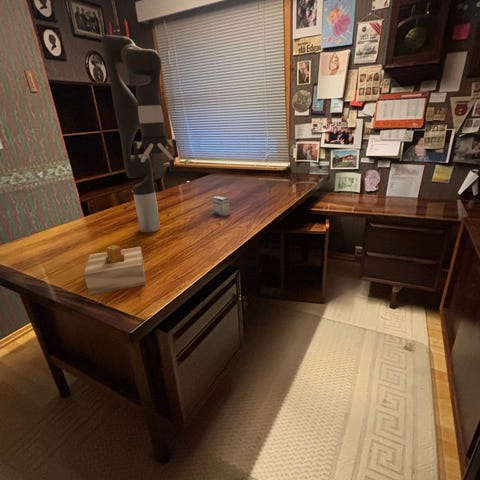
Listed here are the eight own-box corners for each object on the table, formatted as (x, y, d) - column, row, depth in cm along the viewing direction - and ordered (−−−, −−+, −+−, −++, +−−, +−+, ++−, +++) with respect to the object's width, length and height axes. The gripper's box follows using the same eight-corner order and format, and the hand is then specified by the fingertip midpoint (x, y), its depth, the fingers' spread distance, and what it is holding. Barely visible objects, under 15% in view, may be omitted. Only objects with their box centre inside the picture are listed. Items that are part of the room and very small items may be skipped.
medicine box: (213, 213, 156) (211, 197, 152) (219, 211, 159) (218, 195, 155) (223, 216, 151) (222, 199, 147) (229, 214, 154) (228, 197, 150)
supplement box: (126, 273, 97) (120, 245, 93) (118, 279, 94) (112, 250, 90) (119, 272, 98) (113, 244, 94) (111, 276, 96) (104, 248, 92)
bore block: (94, 273, 101) (89, 254, 98) (144, 264, 105) (140, 246, 102) (89, 295, 88) (83, 274, 85) (145, 284, 93) (141, 264, 90)
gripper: (172, 120, 102) (178, 168, 108) (128, 122, 98) (137, 172, 104) (175, 120, 95) (181, 171, 102) (128, 122, 91) (137, 175, 98)
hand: (158, 171), depth 103 cm, fingers open, 8 cm apart
